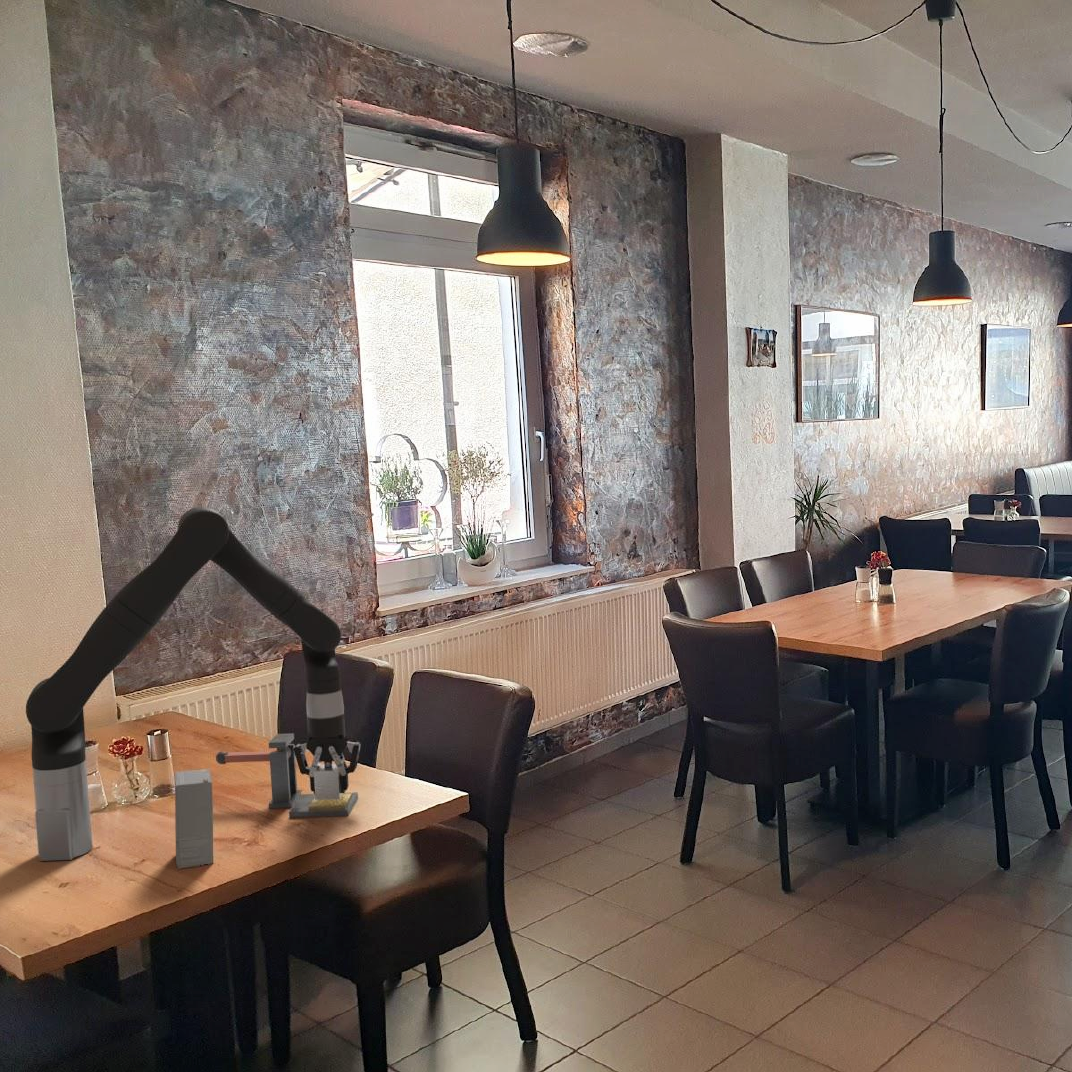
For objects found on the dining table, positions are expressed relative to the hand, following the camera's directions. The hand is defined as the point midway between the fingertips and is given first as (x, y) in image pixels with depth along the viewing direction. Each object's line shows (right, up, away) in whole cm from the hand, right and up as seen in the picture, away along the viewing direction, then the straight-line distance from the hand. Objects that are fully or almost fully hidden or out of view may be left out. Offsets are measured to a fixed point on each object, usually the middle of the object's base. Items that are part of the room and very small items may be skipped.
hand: (330, 792), depth 217 cm
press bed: (-4, -3, +3) cm, 6 cm away
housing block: (0, -1, 0) cm, 1 cm away
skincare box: (-20, -6, -25) cm, 32 cm away
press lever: (-17, +5, +5) cm, 19 cm away
